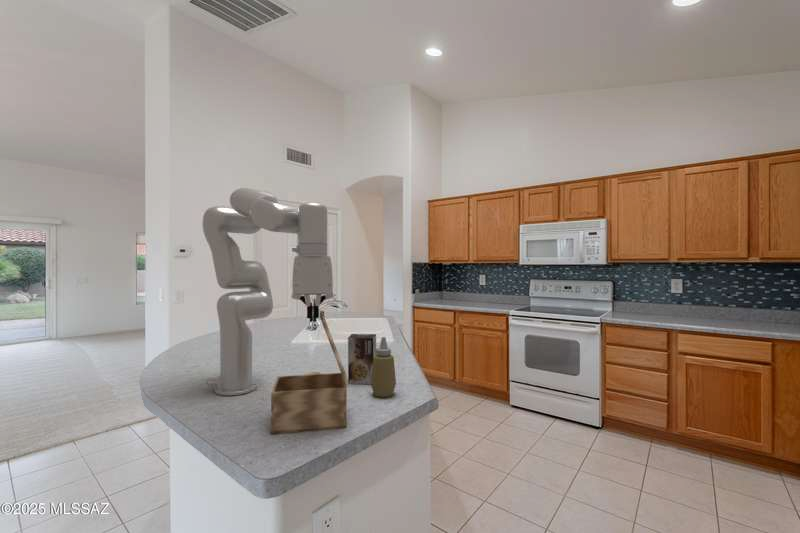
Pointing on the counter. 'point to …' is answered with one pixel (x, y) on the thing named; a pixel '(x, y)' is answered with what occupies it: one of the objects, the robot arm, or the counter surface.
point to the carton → (308, 403)
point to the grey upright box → (361, 358)
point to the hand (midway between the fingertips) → (313, 320)
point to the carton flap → (333, 347)
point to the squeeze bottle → (383, 371)
